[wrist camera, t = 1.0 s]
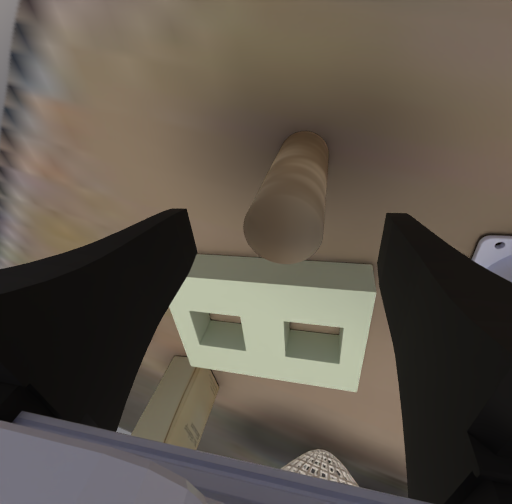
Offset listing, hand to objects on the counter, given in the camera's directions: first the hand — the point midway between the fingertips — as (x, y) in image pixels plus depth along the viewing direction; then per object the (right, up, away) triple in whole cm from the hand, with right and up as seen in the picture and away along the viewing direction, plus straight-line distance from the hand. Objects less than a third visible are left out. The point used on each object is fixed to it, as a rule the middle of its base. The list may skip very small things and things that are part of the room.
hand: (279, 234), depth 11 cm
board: (0, -6, +16) cm, 17 cm away
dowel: (+2, +5, +7) cm, 9 cm away
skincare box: (-8, -15, +25) cm, 31 cm away
